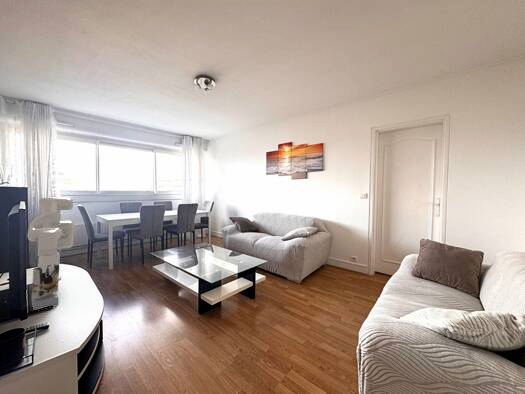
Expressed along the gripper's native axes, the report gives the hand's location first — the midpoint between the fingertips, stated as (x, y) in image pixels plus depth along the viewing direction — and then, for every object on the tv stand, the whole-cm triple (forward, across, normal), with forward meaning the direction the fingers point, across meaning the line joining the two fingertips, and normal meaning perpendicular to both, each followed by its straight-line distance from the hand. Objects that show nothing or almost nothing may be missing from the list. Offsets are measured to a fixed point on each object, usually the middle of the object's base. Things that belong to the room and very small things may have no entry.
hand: (46, 281), depth 120 cm
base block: (+14, 0, 0) cm, 14 cm away
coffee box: (+8, 0, 0) cm, 8 cm away
